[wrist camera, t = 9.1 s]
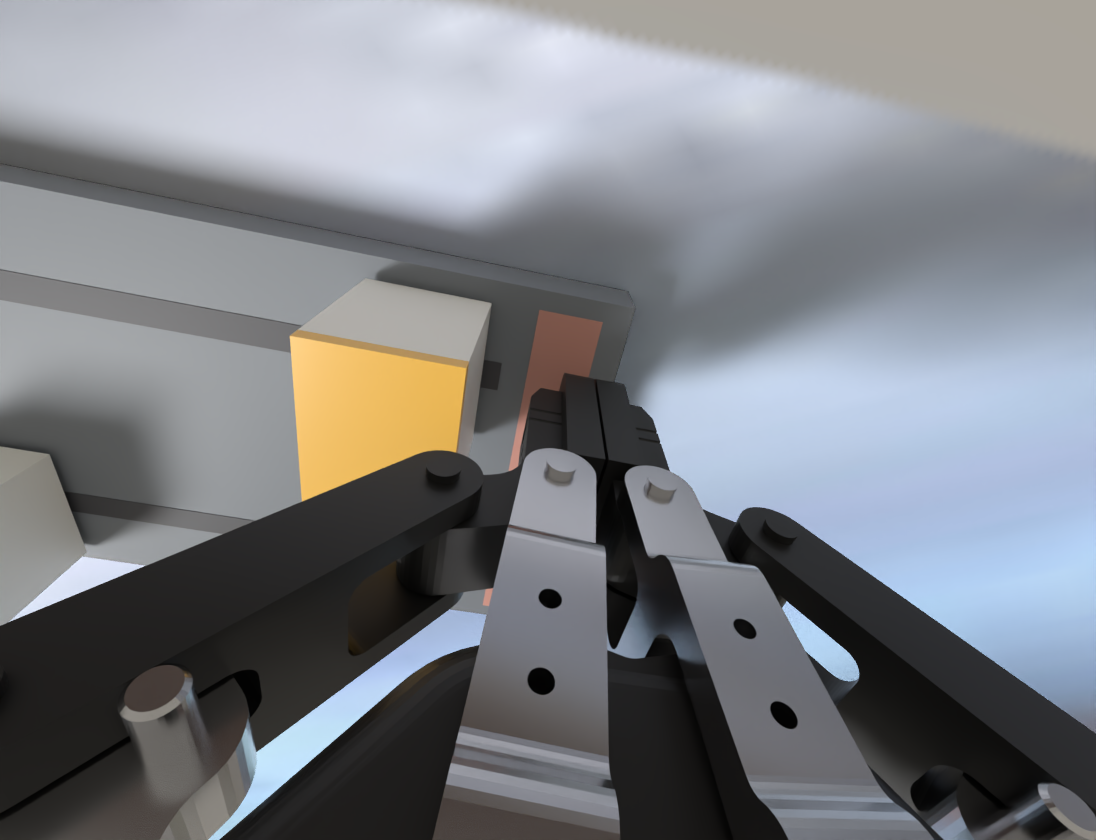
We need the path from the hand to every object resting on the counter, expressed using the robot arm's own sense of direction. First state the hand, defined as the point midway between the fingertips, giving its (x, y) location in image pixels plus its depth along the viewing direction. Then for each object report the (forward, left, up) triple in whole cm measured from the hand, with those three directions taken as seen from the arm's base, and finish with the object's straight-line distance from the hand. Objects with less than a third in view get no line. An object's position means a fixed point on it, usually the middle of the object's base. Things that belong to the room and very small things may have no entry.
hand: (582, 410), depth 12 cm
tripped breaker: (+3, +3, -1) cm, 4 cm away
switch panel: (+4, +10, -2) cm, 11 cm away
